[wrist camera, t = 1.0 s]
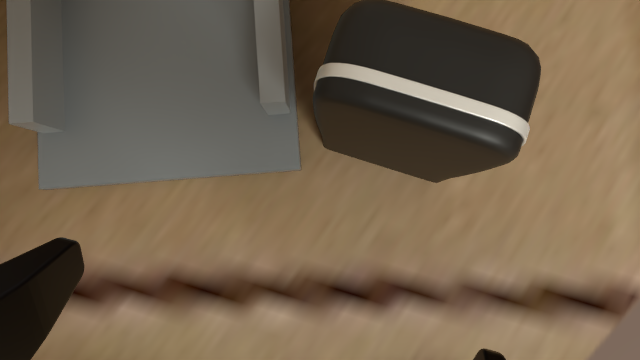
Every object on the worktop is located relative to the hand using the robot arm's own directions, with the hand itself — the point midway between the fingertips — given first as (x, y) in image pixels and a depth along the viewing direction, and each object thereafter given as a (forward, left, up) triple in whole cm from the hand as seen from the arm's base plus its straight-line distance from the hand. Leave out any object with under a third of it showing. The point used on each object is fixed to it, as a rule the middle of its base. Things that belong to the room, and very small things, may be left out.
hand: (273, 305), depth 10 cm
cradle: (+8, +12, -14) cm, 20 cm away
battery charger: (+8, -1, -14) cm, 16 cm away
